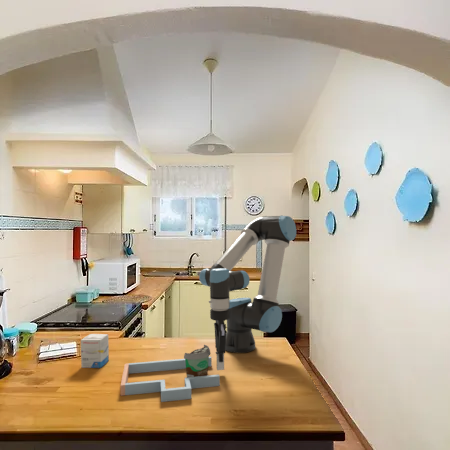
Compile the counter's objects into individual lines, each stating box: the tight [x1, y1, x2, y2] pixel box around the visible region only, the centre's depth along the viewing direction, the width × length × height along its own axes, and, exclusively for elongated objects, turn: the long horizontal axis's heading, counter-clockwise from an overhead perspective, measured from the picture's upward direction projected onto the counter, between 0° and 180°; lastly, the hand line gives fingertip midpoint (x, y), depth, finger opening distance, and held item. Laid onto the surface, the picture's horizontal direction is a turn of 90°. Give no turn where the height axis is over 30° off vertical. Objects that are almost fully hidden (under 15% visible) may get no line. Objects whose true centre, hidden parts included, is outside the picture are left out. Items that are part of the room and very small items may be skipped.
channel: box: [120, 356, 221, 403], centre depth 133 cm, size 34×28×4 cm
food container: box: [183, 344, 211, 377], centre depth 139 cm, size 12×6×10 cm, turn 143°
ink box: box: [80, 333, 110, 369], centre depth 153 cm, size 9×8×12 cm
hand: (220, 369), depth 141 cm, fingers closed
